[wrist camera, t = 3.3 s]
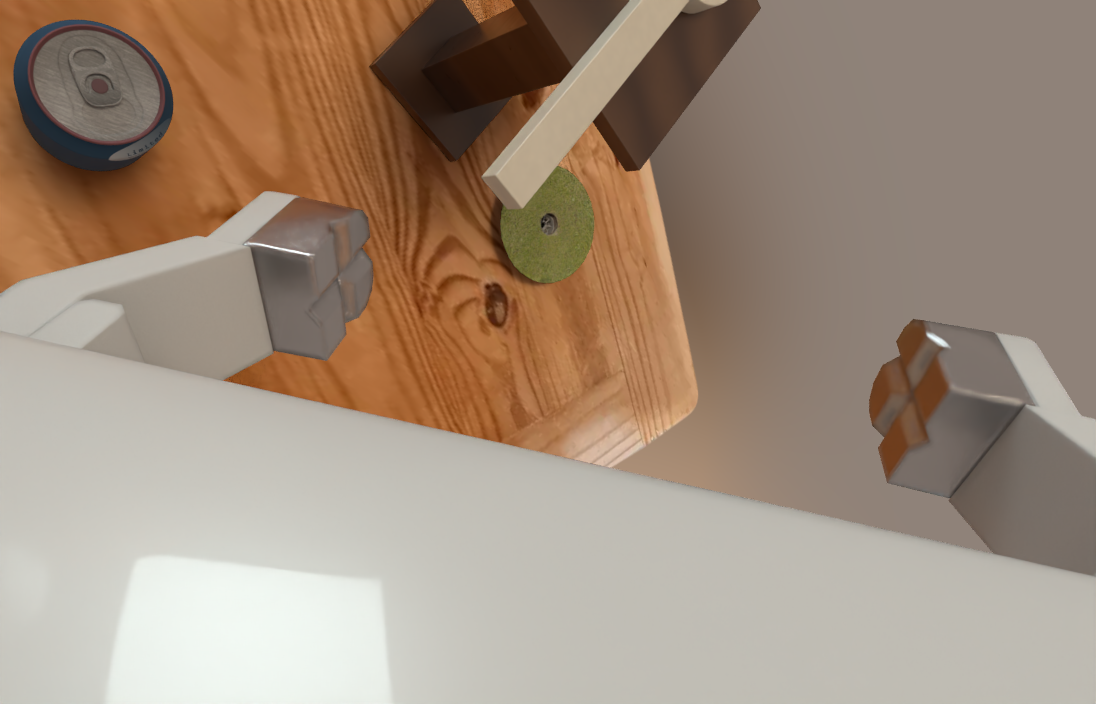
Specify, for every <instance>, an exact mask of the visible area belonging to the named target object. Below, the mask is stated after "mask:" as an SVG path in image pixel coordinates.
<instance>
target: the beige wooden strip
mask: <svg viewBox="0 0 1096 704" xmlns="http://www.w3.org/2000/svg"><path fill="white" fill-rule="evenodd" d="M726 1H727V0H630V1H629V2H628V3H627V4H626V6H625V7H624V8H623V9H622V10H621V12H620V13H619V14H618V15H617V16H616V17H615V19H614V20H613V21H612V22H611V23H610V25H609V26H608V27H607V28H606V29H605V31H604V32H603V33H602V34H601V35H600V36H599V38H598V39H597V40H596V41H595V42H594V44H593V45H592V46H591V47H590V48H589V50H588V51H587V52H586V53H585V54H584V55H583V57H582V58H581V59H580V60H579V61H578V63H577V64H576V65H575V66H574V67H573V69H572V70H571V71H570V72H569V73H568V74H567V76H566V77H565V78H564V79H563V80H562V82H561V83H560V84H559V85H558V86H557V88H556V89H555V90H554V91H553V92H552V93H551V95H550V96H549V97H548V98H547V99H546V101H545V102H544V103H543V104H542V105H541V107H540V108H539V109H538V110H537V111H536V113H535V114H534V115H533V116H532V117H531V118H530V120H529V121H528V122H527V123H526V124H525V126H524V127H523V128H522V129H521V130H520V132H519V133H518V134H517V135H516V136H515V137H514V139H513V140H512V141H511V142H510V143H509V145H508V146H507V147H506V148H505V149H504V151H503V152H502V153H501V154H500V155H499V156H498V158H497V159H496V160H495V161H494V162H493V164H492V165H491V166H490V167H489V168H488V170H487V171H486V172H485V173H484V174H483V175H482V177H481V178H482V179H483V180H484V182H485V183H486V184H487V185H488V186H489V188H490V189H491V190H492V191H493V192H494V194H495V195H496V196H497V197H498V198H499V200H500V201H501V202H502V203H503V204H504V206H505V207H506V208H507V209H523V208H524V207H525V205H526V204H527V203H528V202H529V200H530V199H531V198H532V197H533V195H534V194H535V193H536V192H537V190H538V189H539V188H540V187H541V185H542V184H543V183H544V182H545V180H546V179H547V178H548V177H549V175H550V174H551V173H552V172H553V170H554V169H555V168H556V167H557V165H558V164H559V163H560V162H561V160H562V159H563V158H564V157H565V155H566V154H567V153H568V152H569V150H570V149H571V148H572V147H573V145H574V144H575V143H576V142H577V140H578V139H579V138H580V137H581V135H582V134H583V133H584V132H585V130H586V129H587V128H588V127H589V125H590V124H591V123H592V122H593V120H594V119H595V118H596V117H597V115H598V114H599V113H600V112H601V110H602V109H603V108H604V107H605V105H606V104H607V103H608V102H609V100H610V99H611V98H612V97H613V95H614V94H615V93H616V92H617V90H618V89H619V88H620V87H621V85H622V84H623V83H624V82H625V80H626V79H627V78H628V77H629V75H630V74H631V73H632V72H633V70H634V69H635V68H636V67H637V65H638V64H639V63H640V62H641V61H642V59H643V58H644V57H645V56H646V54H647V53H648V52H649V51H650V49H651V48H652V47H653V46H654V44H655V43H656V42H657V41H658V39H659V38H660V37H661V36H662V34H663V33H664V32H665V31H666V29H667V28H668V27H669V26H670V24H671V23H672V22H673V21H674V19H675V18H676V17H677V16H678V14H679V13H680V12H681V11H682V12H684V13H689V14H694V13H698V12H701V11H704V10H707V9H710V8H713V7H716V6H719V5H721V4H723V3H725V2H726Z"/></svg>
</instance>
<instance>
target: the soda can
mask: <svg viewBox="0 0 1096 704" xmlns="http://www.w3.org/2000/svg"><path fill="white" fill-rule="evenodd" d="M14 85H15V90H16V93H17V97H18V101H19V105H20V108H21V112H22V116H23V119H24V122H25V124H26V126H27V128H28V130H29V132H30V133H31V135H32V136H33V137H34V139H35V140H36V141H37V142H38V143H39V145H40V146H42V147H43V148H44V149H45V150H46V151H47V152H48V153H50V154H51V155H52V156H54V157H55V158H57V159H59V160H61V161H62V162H64V163H67V164H69V165H71V166H74V167H77V168H81V169H85V170H91V171H111V170H116V169H120V168H123V167H126V166H128V165H130V164H132V163H134V162H135V161H136V160H138V159H139V158H140V157H141V156H142V155H144V154H145V153H146V152H147V151H148V150H149V149H151V148H152V147H153V146H154V145H155V144H156V143H158V141H159V140H160V139H161V138H162V137H163V136H164V134H165V133H166V131H167V129H168V127H169V125H170V122H171V119H172V114H173V96H172V91H171V87H170V84H169V81H168V79H167V77H166V75H165V73H164V71H163V69H162V67H161V66H160V64H159V63H158V62H157V60H156V59H155V58H154V57H153V55H152V54H151V53H150V52H149V51H148V50H147V49H146V48H145V47H144V46H142V45H141V44H140V43H139V42H138V41H136V40H135V39H133V38H132V37H130V36H129V35H127V34H125V33H124V32H122V31H120V30H118V29H116V28H113V27H111V26H108V25H105V24H102V23H98V22H93V21H87V20H65V21H59V22H55V23H52V24H49V25H46V26H44V27H42V28H40V29H39V30H37V31H36V32H34V33H33V34H32V35H31V36H29V37H28V39H27V40H26V41H25V42H24V43H23V45H22V46H21V48H20V50H19V52H18V54H17V57H16V60H15V64H14Z"/></svg>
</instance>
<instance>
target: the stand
mask: <svg viewBox="0 0 1096 704" xmlns="http://www.w3.org/2000/svg"><path fill="white" fill-rule="evenodd" d="M512 1H513V3H514V4H515V6H514V7H512V8H510V9H508V10H506V11H504V12H502V13H500V14H498V15H496V16H493V17H491V18H489V19H487V20H485V21H483V22H481V23H479V24H478V22H477V21H476V19H475V18H474V17H473V15H472V14H471V12H470V11H469V10H468V8H467V7H466V5H465V4H464V3H463V1H462V0H433V1H432V3H431V4H430V5H429V6H428V7H427V8H426V9H425V10H424V11H423V12H422V13H421V14H420V15H419V16H418V17H417V18H416V19H415V20H414V21H413V22H412V23H411V24H410V25H409V26H408V27H407V28H406V29H405V30H404V31H403V32H402V33H401V34H400V35H399V36H398V37H397V38H396V39H395V40H394V41H393V43H392V44H391V45H390V46H389V47H388V48H387V49H386V50H385V51H384V52H383V53H382V54H381V55H380V56H379V57H378V58H377V59H376V60H375V61H374V62H373V63H372V64H371V65H370V66H369V67H370V68H371V69H372V70H373V71H374V73H375V74H376V75H377V76H378V77H379V78H380V80H381V81H382V82H383V83H384V84H385V86H386V87H387V88H388V89H389V90H390V91H391V93H392V94H393V95H394V96H395V97H396V98H397V100H398V101H399V102H400V103H401V104H402V106H403V107H404V108H405V109H406V110H407V111H408V113H409V114H410V115H411V116H412V117H413V118H414V120H415V121H416V122H417V123H418V124H419V126H420V127H421V128H422V129H423V130H424V131H425V133H426V134H427V135H428V136H429V137H430V138H431V140H432V141H433V142H434V143H435V144H436V146H437V147H438V148H439V149H440V150H441V151H442V153H443V154H444V155H445V156H446V157H447V158H448V160H449V161H450V162H453V161H457V160H458V159H459V158H460V157H461V155H462V154H463V153H464V152H465V151H466V150H467V148H468V147H469V146H470V145H471V144H472V143H473V142H474V140H475V139H476V138H477V137H478V136H479V135H480V133H481V132H482V131H483V130H484V129H485V128H486V126H487V125H488V124H489V123H490V122H491V121H492V120H493V118H494V117H495V116H496V115H497V114H498V113H499V111H500V110H501V109H502V108H503V107H504V106H505V105H506V103H507V102H508V101H509V100H510V99H511V98H512V96H516V95H519V94H523V93H526V92H530V91H533V90H537V89H540V88H543V87H547V86H550V85H554V84H557V83H561V82H562V80H563V79H564V78H565V77H566V76H567V74H568V73H569V72H570V71H571V70H572V69H573V67H574V66H575V65H576V64H577V63H578V61H579V60H580V59H581V58H582V57H583V55H584V54H585V53H586V52H587V51H588V50H589V48H590V47H591V46H592V45H593V44H594V42H595V41H596V40H597V39H598V38H599V36H600V35H601V34H602V33H603V32H604V31H605V29H606V28H607V27H608V26H609V25H610V23H611V22H612V21H613V20H614V19H615V17H616V16H617V15H618V14H619V13H620V12H621V10H622V9H623V8H624V7H625V6H626V4H627V3H628V2H629V1H630V0H512ZM760 9H761V7H760V5H759V3H758V1H757V0H727V1H726V2H725V3H723V4H721V5H719V6H716V7H713V8H710V9H707V10H704V11H701V12H698V13H694V14H689V13H684V12H682V11H681V12H680V13H679V14H678V16H677V17H676V18H675V19H674V21H673V22H672V23H671V24H670V26H669V27H668V28H667V29H666V31H665V32H664V33H663V34H662V36H661V37H660V38H659V39H658V41H657V42H656V43H655V44H654V46H653V47H652V48H651V49H650V51H649V52H648V53H647V54H646V56H645V57H644V58H643V59H642V61H641V62H640V63H639V64H638V65H637V67H636V68H635V69H634V70H633V72H632V73H631V74H630V75H629V77H628V78H627V79H626V80H625V82H624V83H623V84H622V85H621V87H620V88H619V89H618V90H617V92H616V93H615V94H614V95H613V97H612V98H611V99H610V100H609V102H608V103H607V104H606V105H605V107H604V108H603V109H602V110H601V112H600V113H599V114H598V115H597V117H596V118H595V119H594V120H593V123H594V124H595V126H596V127H597V129H598V130H599V132H600V133H601V135H602V136H603V138H604V139H605V141H606V142H607V144H608V145H609V147H610V148H611V150H612V151H613V153H614V154H615V156H616V157H617V159H618V160H619V162H620V163H621V165H622V166H623V168H624V169H625V171H636V170H640V169H641V168H642V166H643V165H644V164H645V162H646V161H647V160H648V158H649V157H650V156H651V154H652V153H653V152H654V150H655V149H656V148H657V146H658V145H659V144H660V142H661V141H662V140H663V138H664V137H665V136H666V134H667V133H668V132H669V130H670V129H671V128H672V126H673V125H674V124H675V122H676V121H677V120H678V118H679V117H680V116H681V114H682V113H683V112H684V110H685V109H686V108H687V106H688V105H689V104H690V102H691V101H692V100H693V98H694V97H695V96H696V94H697V93H698V92H699V90H700V89H701V88H702V86H703V85H704V84H705V82H706V81H707V80H708V78H709V77H710V76H711V74H712V73H713V72H714V70H715V69H716V68H717V66H718V65H719V64H720V62H721V61H722V59H723V58H724V57H725V56H726V54H727V53H728V52H729V50H730V49H731V48H732V46H733V45H734V44H735V42H736V41H737V39H738V38H739V37H740V36H741V34H742V33H743V32H744V30H745V29H746V28H747V26H748V25H749V23H750V22H751V21H752V20H753V18H754V17H755V16H756V14H757V13H758V11H759V10H760Z"/></svg>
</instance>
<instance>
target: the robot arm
mask: <svg viewBox="0 0 1096 704" xmlns="http://www.w3.org/2000/svg"><path fill="white" fill-rule="evenodd" d="M369 238H370V230H369V222H368V217H367V216H366V214H365V213H364V212H363V210H359V209H355V208H350V207H346V206H341V205H336V204H332V203H327V202H322V201H318V200H313V199H309V198H304V197H302V198H301V197H299V196H296V195H291V194H285V193H279V192H272V191H264V192H263V193H262V194H261V195H259V196H258V197H257V198H256V199H254V200H253V201H252V202H251V203H249V204H248V205H247V206H246V207H244V208H243V209H242V210H240V211H239V212H238V213H237V214H235V215H234V216H233V217H232V218H230V219H229V220H228V221H227V222H225V223H224V224H223V225H222V226H220V227H219V228H218V229H217V230H215V231H214V232H213V233H212V234H210V235H209V236H208V237H207V238H205V237H200V236H194V237H190V238H186V239H182V240H178V241H174V242H170V243H166V244H162V245H158V246H154V247H150V248H146V249H142V250H138V251H135V252H131V253H127V254H123V255H119V256H115V257H111V258H107V259H103V260H99V261H95V262H91V263H87V264H83V265H79V266H75V267H72V268H68V269H64V270H60V271H56V272H52V273H48V274H44V275H40V276H36V277H32V278H28V279H24V280H21V281H19V282H18V283H16V284H14V285H13V286H11V287H10V288H8V289H7V290H5V291H4V292H2V293H1V294H0V704H1096V420H1095V419H1093V418H1088V417H1084V416H1081V415H1080V414H1079V412H1078V411H1077V409H1076V407H1075V406H1074V404H1073V403H1072V401H1071V399H1070V398H1069V396H1068V394H1067V393H1066V391H1065V390H1064V388H1063V386H1062V385H1061V383H1060V382H1059V380H1058V379H1057V377H1056V375H1055V373H1054V372H1053V370H1052V369H1051V367H1050V365H1049V364H1048V362H1047V361H1046V359H1045V357H1044V356H1043V354H1042V352H1041V351H1040V349H1039V348H1038V346H1037V344H1036V343H1035V342H1033V341H1031V340H1030V339H1028V338H1026V337H1019V336H1013V335H1007V334H1001V333H994V332H988V331H983V330H976V329H971V328H965V327H959V326H954V325H947V324H942V323H936V322H930V321H924V320H916V319H913V320H912V321H911V322H910V323H909V324H908V325H907V326H906V327H905V328H904V329H903V331H902V333H901V334H900V336H899V338H898V339H897V341H896V342H897V346H898V349H899V352H900V356H899V357H897V358H895V359H893V360H891V361H889V362H887V363H886V364H884V365H883V366H882V367H881V369H880V371H879V373H878V375H877V377H876V379H875V381H874V383H873V387H872V391H871V395H870V399H869V413H870V418H871V421H872V426H873V427H874V428H875V429H876V430H877V431H878V432H879V433H880V434H881V435H882V436H883V437H884V439H883V441H882V443H881V444H880V446H879V447H878V450H879V454H880V458H881V461H882V465H883V469H884V473H885V476H886V480H887V483H889V484H894V485H897V486H901V487H906V488H910V489H914V490H918V491H922V492H926V493H930V494H935V495H938V496H943V497H947V498H950V499H949V502H950V503H951V504H952V505H953V506H954V507H955V509H956V510H957V511H958V512H959V513H960V515H961V516H962V517H963V518H964V519H965V521H966V522H967V523H968V524H969V525H970V526H971V528H972V529H973V530H974V531H975V532H976V534H977V535H978V536H979V537H980V538H981V539H982V540H983V542H984V543H985V544H986V545H987V547H989V549H990V550H991V551H992V552H993V553H988V552H984V551H980V550H975V549H970V548H966V547H962V546H957V545H953V544H948V543H944V542H939V541H935V540H930V539H925V538H921V537H916V536H913V535H908V534H903V533H899V532H895V531H890V530H885V529H881V528H877V527H872V526H868V525H863V524H859V523H855V522H850V521H846V520H841V519H836V518H832V517H828V516H823V515H819V514H814V513H810V512H805V511H801V510H796V509H792V508H788V507H783V506H779V505H774V504H770V503H765V502H760V501H756V500H752V499H748V498H743V497H738V496H734V495H730V494H725V493H721V492H716V491H712V490H707V489H703V488H698V487H694V486H689V485H685V484H680V483H676V482H672V481H667V480H663V479H658V478H653V477H649V476H645V475H640V474H635V473H632V472H627V471H623V470H618V469H614V468H609V467H605V466H600V465H596V464H592V463H587V462H583V461H578V460H574V459H569V458H565V457H560V456H556V455H551V454H547V453H543V452H538V451H534V450H529V449H525V448H520V447H516V446H511V445H507V444H502V443H498V442H494V441H489V440H485V439H480V438H476V437H471V436H467V435H462V434H458V433H453V432H449V431H445V430H440V429H436V428H431V427H427V426H422V425H418V424H413V423H409V422H405V421H400V420H396V419H391V418H387V417H382V416H378V415H373V414H369V413H364V412H360V411H356V410H351V409H347V408H342V407H338V406H333V405H329V404H324V403H320V402H315V401H311V400H307V399H302V398H298V397H293V396H289V395H284V394H280V393H275V392H271V391H266V390H262V389H258V388H253V387H249V386H244V385H240V384H235V383H231V382H226V381H223V380H224V379H226V378H228V377H230V376H232V375H234V374H236V373H238V372H239V371H241V370H243V369H245V368H247V367H249V366H251V365H253V364H254V363H256V362H258V361H260V360H262V359H264V358H266V357H267V356H269V355H271V354H273V351H278V352H283V353H289V354H294V355H299V356H304V357H310V358H315V359H320V360H325V361H327V360H328V359H329V357H330V356H331V354H332V353H333V352H334V350H335V349H336V348H337V346H338V345H339V344H340V342H341V341H342V340H343V338H344V337H345V336H346V327H345V323H346V322H349V321H351V320H354V319H356V318H358V317H359V316H360V315H361V313H362V312H363V310H364V309H365V308H366V306H367V303H368V300H369V297H370V294H371V291H372V284H373V263H372V261H371V259H370V258H369V256H368V255H367V254H366V252H365V251H364V250H363V248H362V247H363V245H364V244H365V243H366V242H367V240H368V239H369Z"/></svg>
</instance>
